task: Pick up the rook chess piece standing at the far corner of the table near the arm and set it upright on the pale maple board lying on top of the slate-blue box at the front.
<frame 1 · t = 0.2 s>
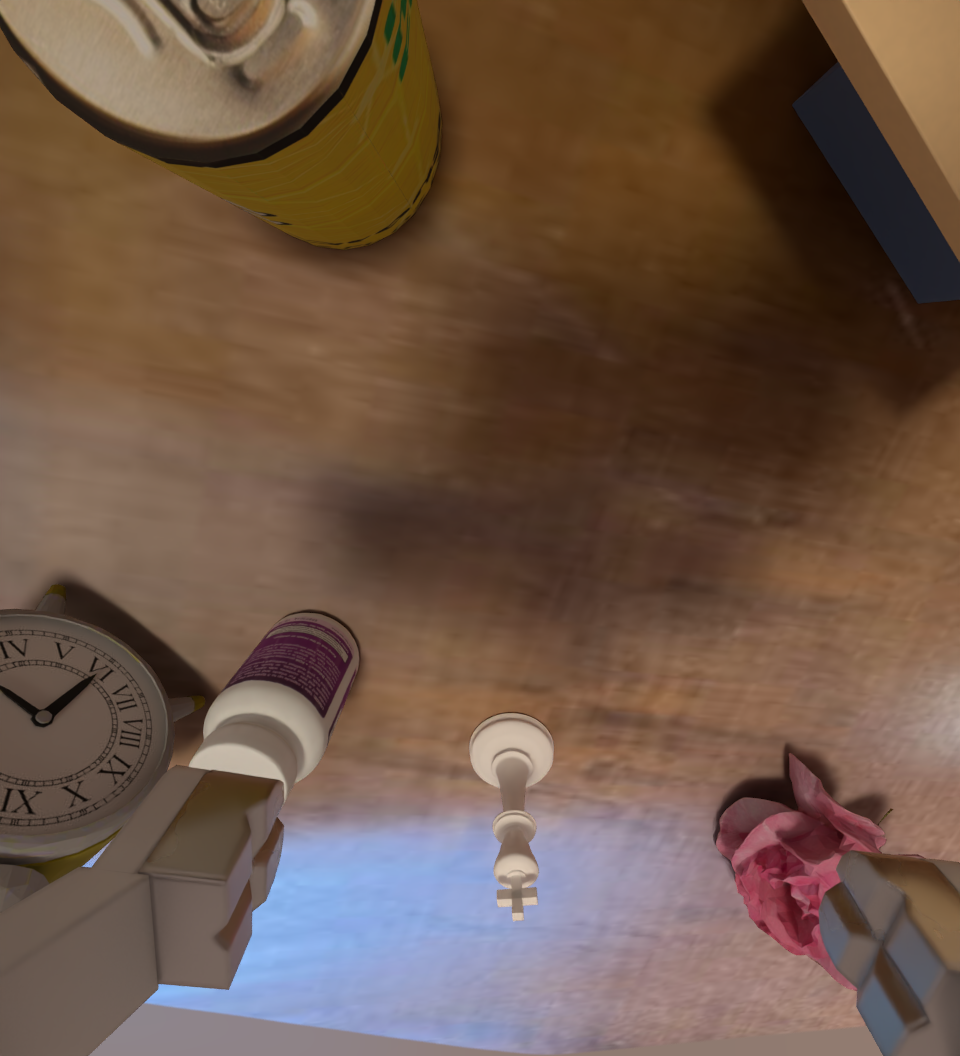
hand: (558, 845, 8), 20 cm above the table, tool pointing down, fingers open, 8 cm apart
pill bottle: (314, 650, 31), on the table
beverage can: (334, 130, 23), on the table
alarm clock: (117, 662, 31), on the table
flower: (785, 818, 33), on the table
chess piece: (511, 745, 32), on the table
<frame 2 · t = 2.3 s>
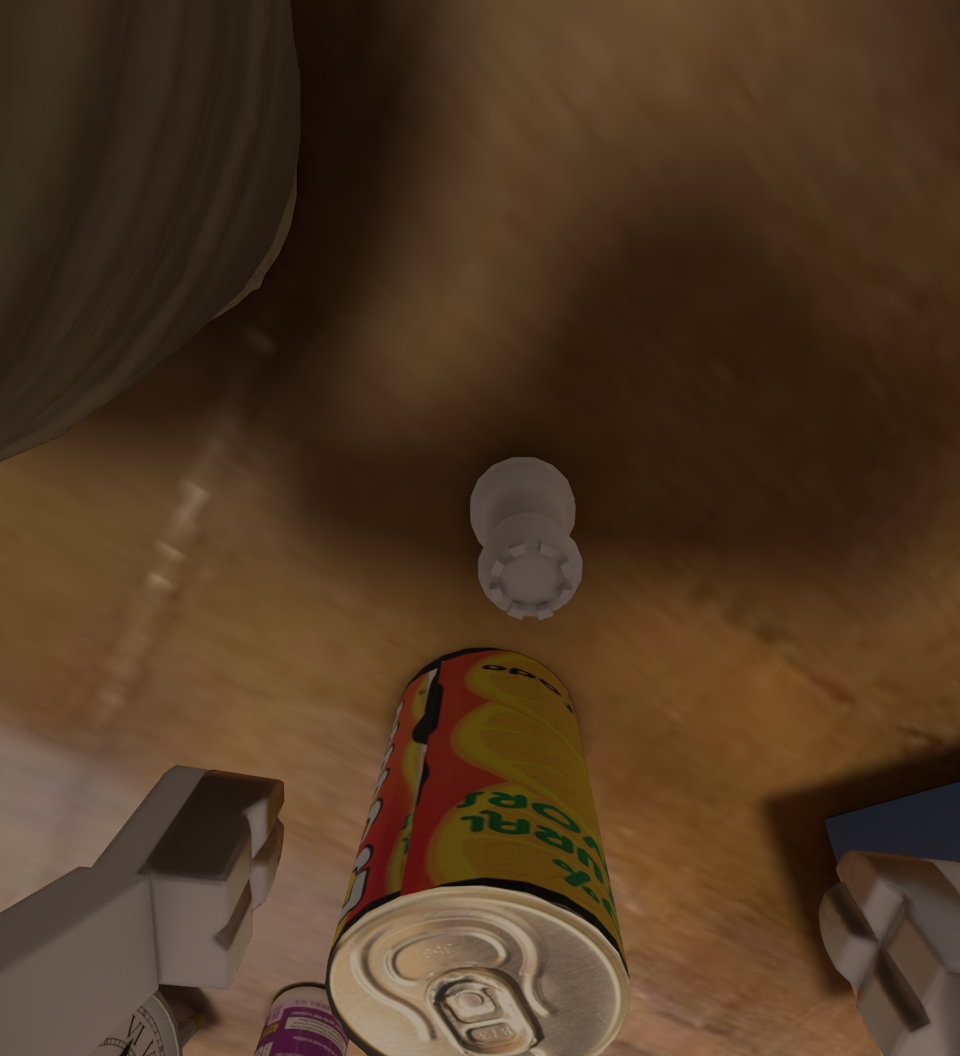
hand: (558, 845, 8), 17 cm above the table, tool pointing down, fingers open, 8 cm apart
pill bottle: (313, 1007, 35), on the table
beverage can: (486, 723, 28), on the table
rook chess piece: (521, 503, 24), on the table
alarm clock: (136, 970, 35), on the table
board box: (958, 854, 29), on the table
vase: (111, 134, 20), on the table
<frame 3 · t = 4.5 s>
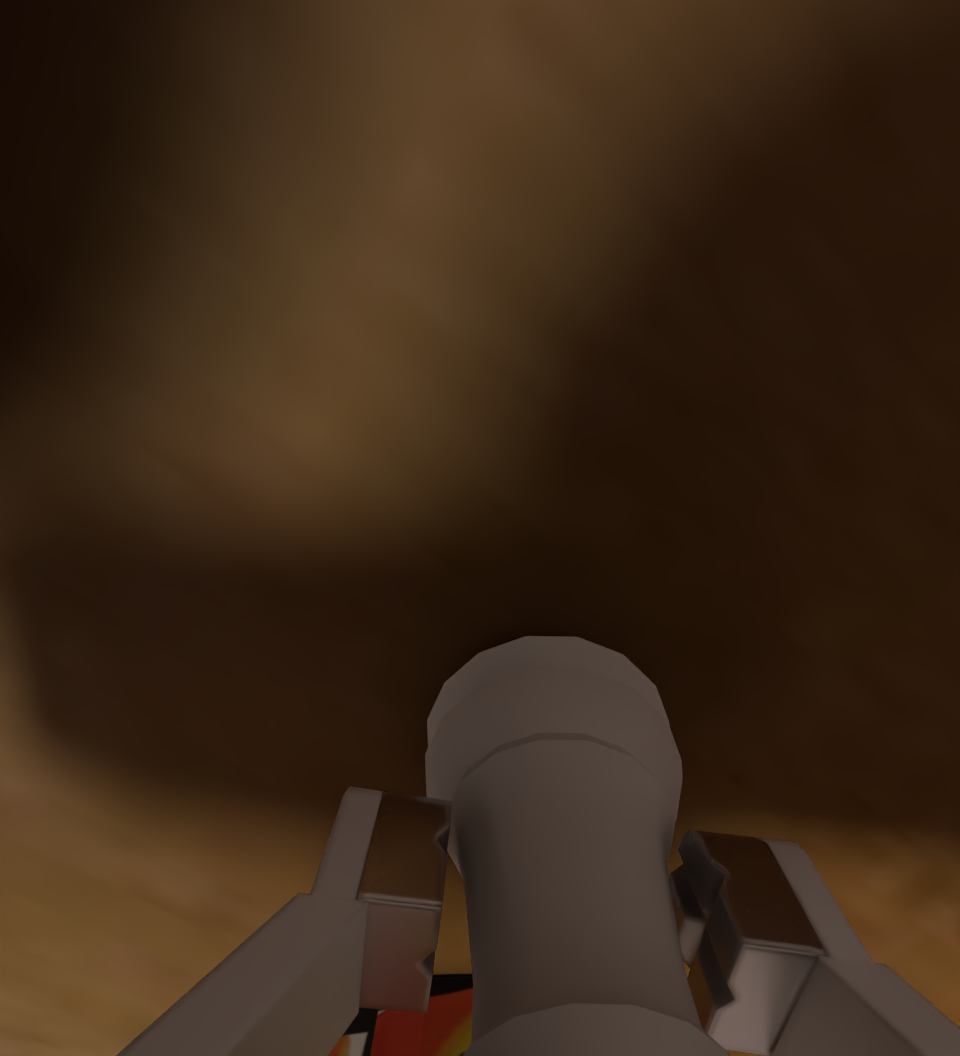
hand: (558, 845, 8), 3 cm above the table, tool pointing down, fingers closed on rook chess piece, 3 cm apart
rook chess piece: (543, 717, 11), on the table, touching gripper
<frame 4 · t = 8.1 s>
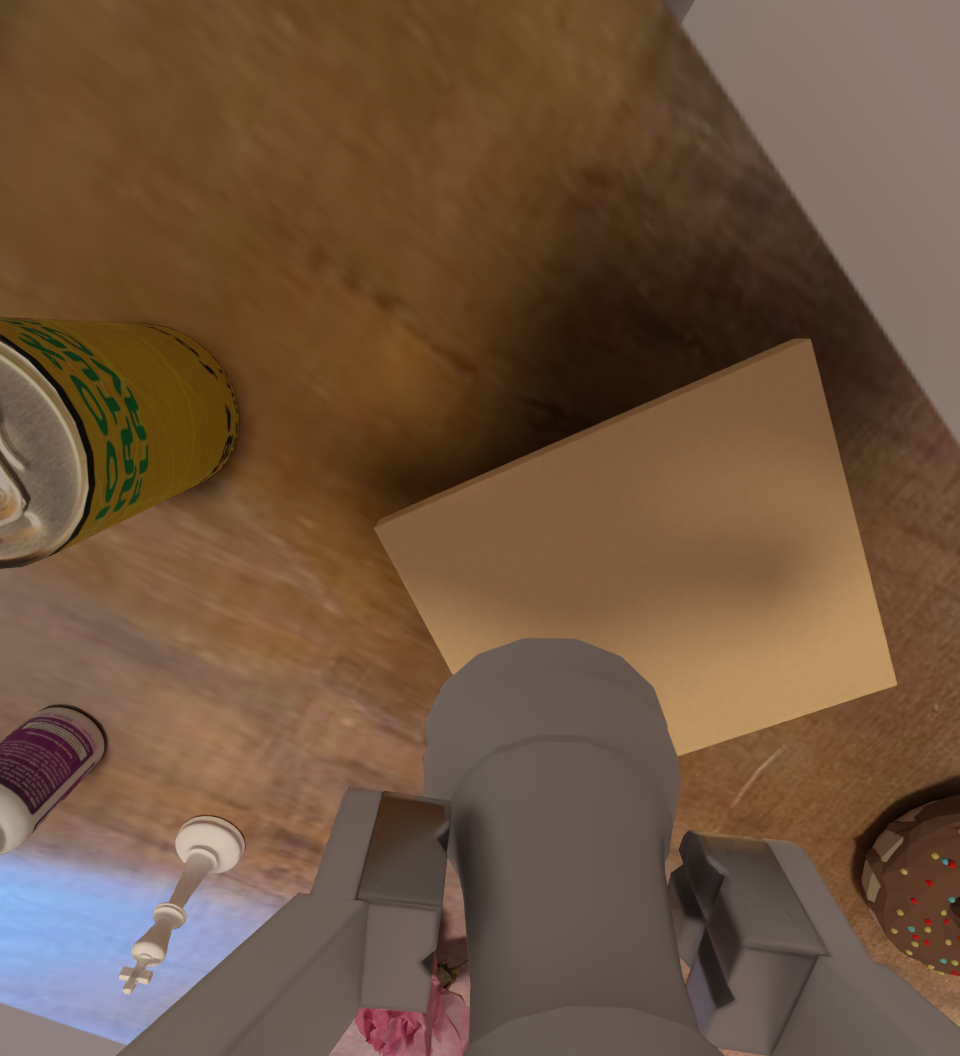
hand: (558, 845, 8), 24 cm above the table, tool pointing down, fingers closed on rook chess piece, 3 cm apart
pill bottle: (71, 734, 38), on the table
beverage can: (161, 409, 31), on the table
rook chess piece: (542, 719, 11), point 22 cm above the table, touching gripper
board box: (605, 536, 32), on the table
donut: (945, 846, 39), on the table
flower: (410, 938, 44), on the table
chess piece: (213, 838, 41), on the table
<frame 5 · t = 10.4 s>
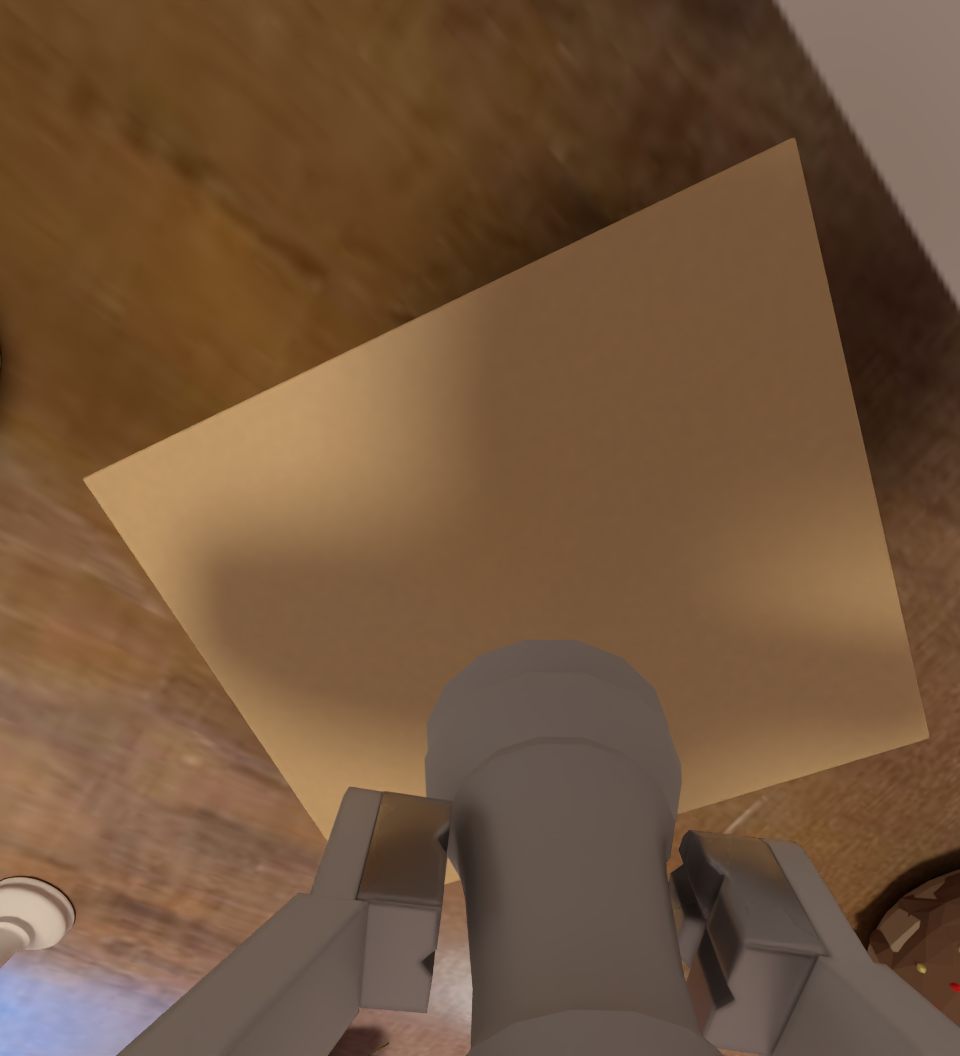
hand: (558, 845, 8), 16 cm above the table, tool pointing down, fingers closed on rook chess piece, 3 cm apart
rook chess piece: (543, 720, 11), point 13 cm above the table, touching gripper
board box: (518, 514, 23), on the table
chess piece: (35, 904, 32), on the table
when the fingers open (12 cm above the table, at t = 11.9 s): rook chess piece stays where it is, resting on board box.
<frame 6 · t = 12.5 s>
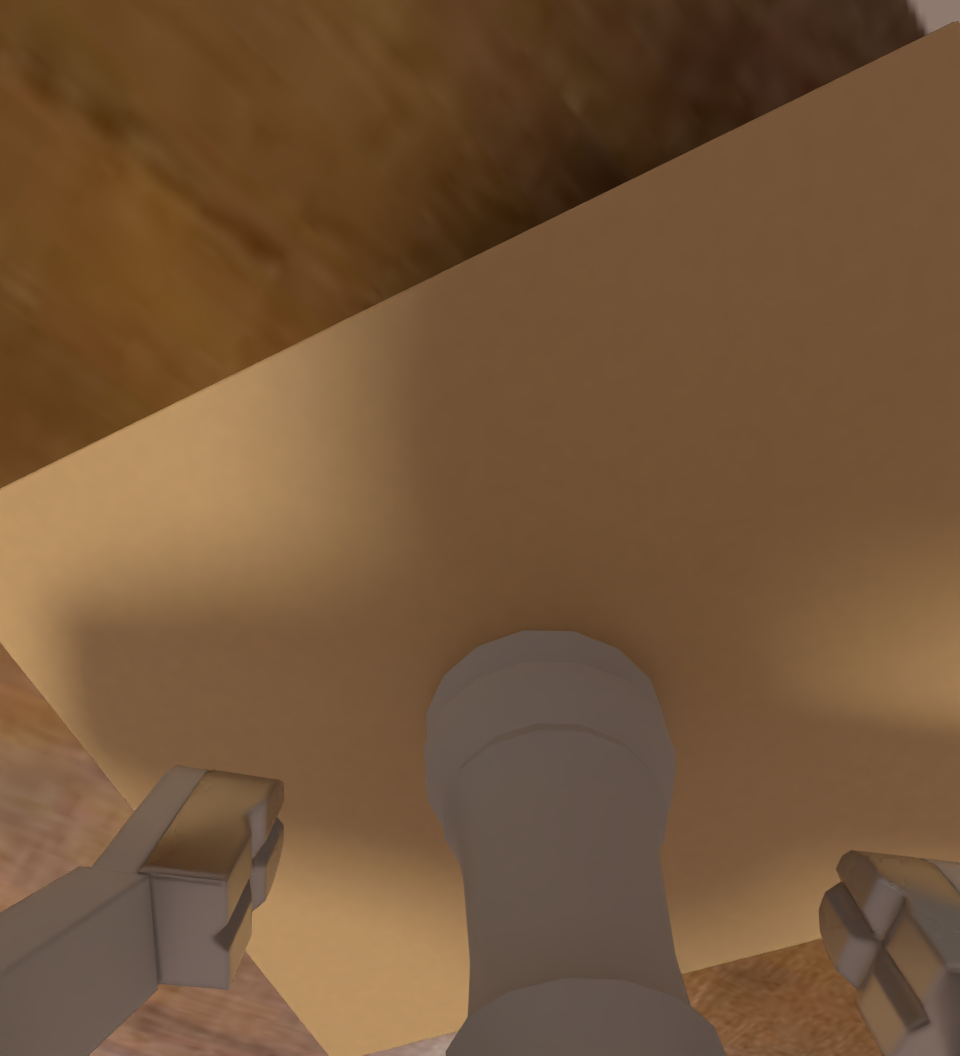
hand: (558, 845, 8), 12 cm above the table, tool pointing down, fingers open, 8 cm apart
rook chess piece: (541, 711, 11), point 9 cm above the table, touching board box
board box: (521, 549, 19), on the table
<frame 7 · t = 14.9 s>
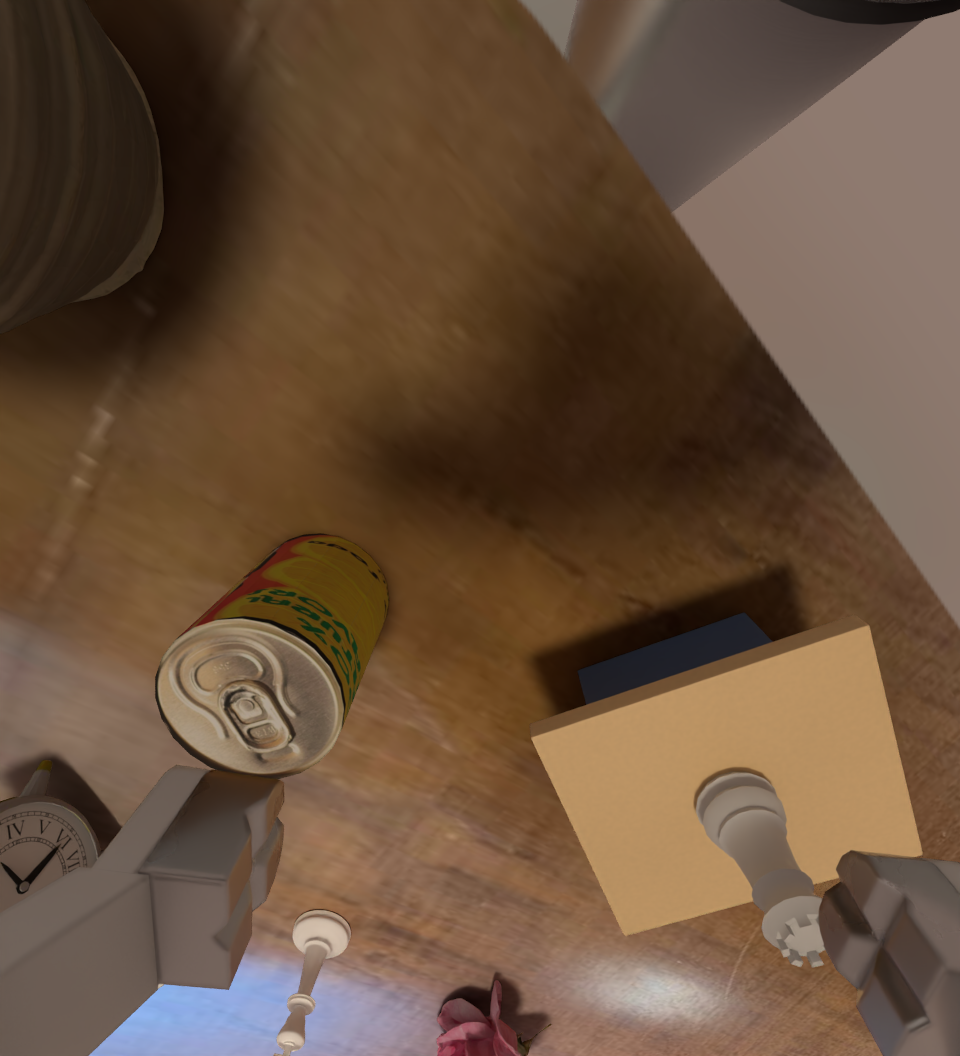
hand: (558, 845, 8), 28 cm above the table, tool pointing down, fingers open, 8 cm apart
beverage can: (324, 594, 38), on the table
rook chess piece: (731, 796, 31), point 9 cm above the table, touching board box
alarm clock: (69, 810, 44), on the table
board box: (679, 698, 39), on the table
vase: (40, 167, 30), on the table
flower: (486, 1012, 50), on the table
chess piece: (323, 928, 48), on the table
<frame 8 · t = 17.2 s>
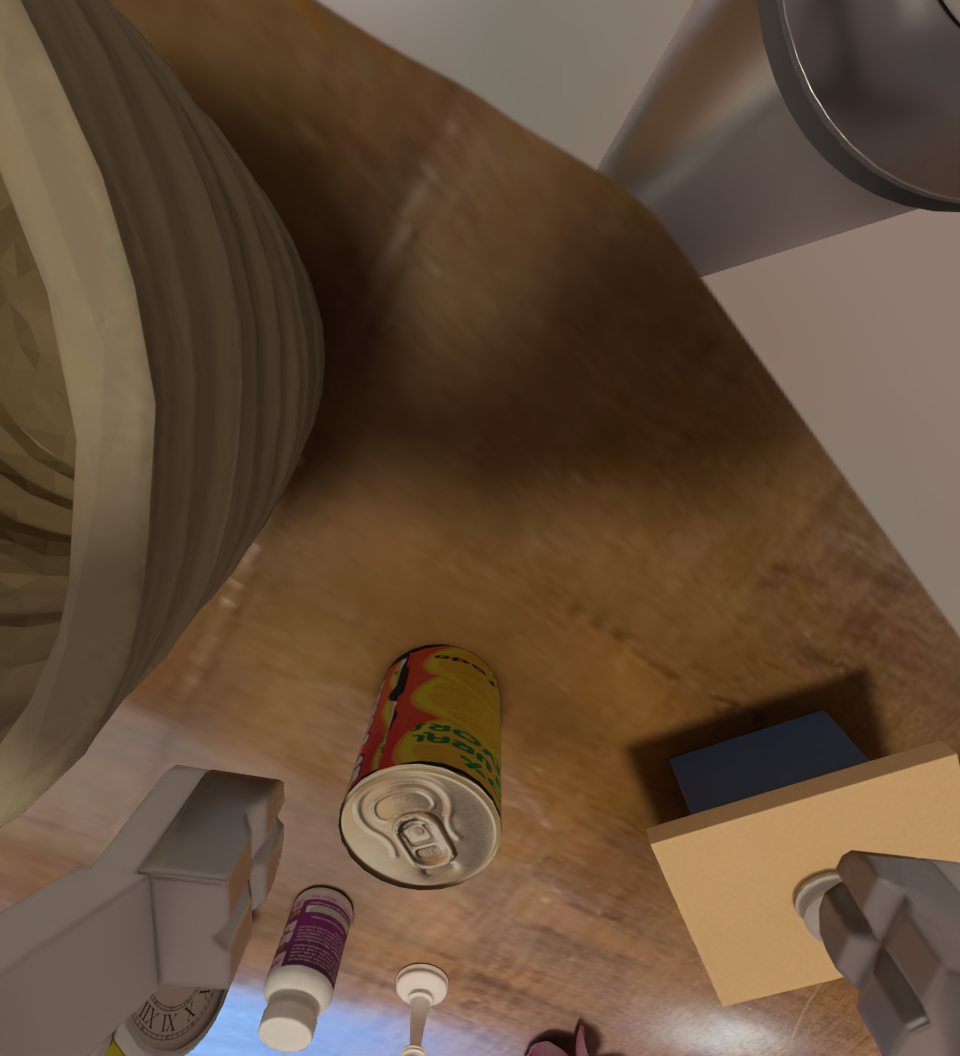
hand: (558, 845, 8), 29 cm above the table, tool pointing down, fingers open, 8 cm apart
pill bottle: (324, 904, 49), on the table
beverage can: (441, 695, 42), on the table
rook chess piece: (825, 891, 35), point 9 cm above the table, touching board box
alarm clock: (198, 878, 49), on the table
board box: (761, 782, 43), on the table
vase: (210, 344, 34), on the table
flower: (568, 1052, 55), on the table
chess piece: (422, 978, 52), on the table
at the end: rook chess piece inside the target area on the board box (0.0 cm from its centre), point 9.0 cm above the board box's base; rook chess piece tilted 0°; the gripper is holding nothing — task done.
